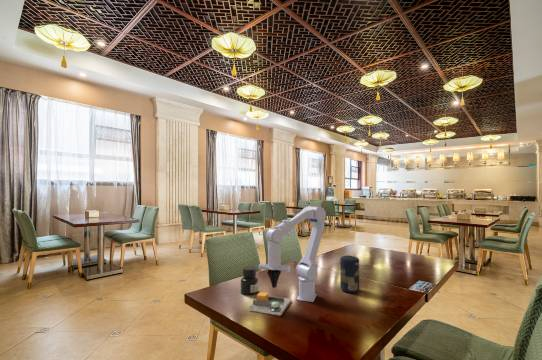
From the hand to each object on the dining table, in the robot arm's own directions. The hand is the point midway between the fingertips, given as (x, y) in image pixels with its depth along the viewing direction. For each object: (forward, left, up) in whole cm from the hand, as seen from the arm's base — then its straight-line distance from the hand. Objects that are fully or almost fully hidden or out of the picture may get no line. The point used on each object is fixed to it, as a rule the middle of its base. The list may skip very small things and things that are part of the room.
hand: (274, 287), depth 119 cm
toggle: (0, -6, -7) cm, 9 cm away
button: (+6, +2, -6) cm, 9 cm away
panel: (0, -2, -8) cm, 8 cm away
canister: (-32, +30, -9) cm, 45 cm away
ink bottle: (-12, -18, -9) cm, 23 cm away
